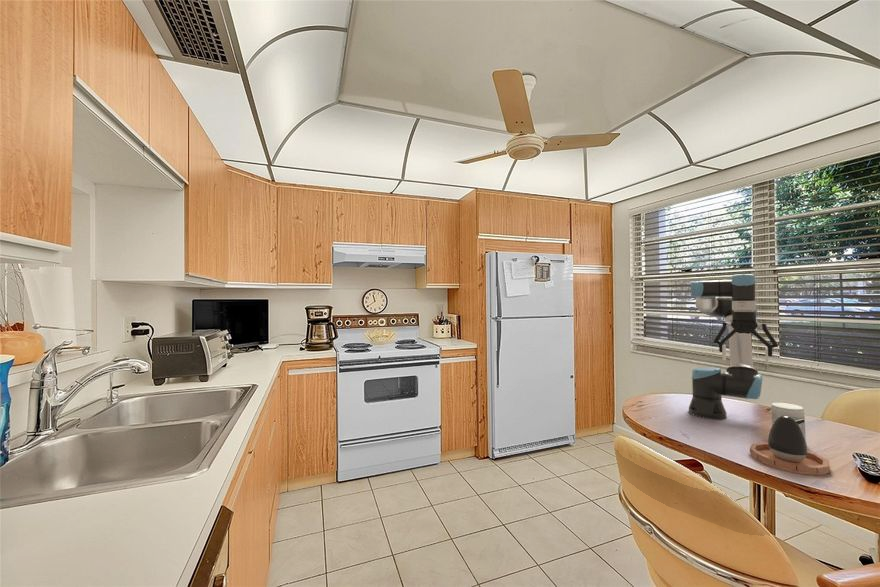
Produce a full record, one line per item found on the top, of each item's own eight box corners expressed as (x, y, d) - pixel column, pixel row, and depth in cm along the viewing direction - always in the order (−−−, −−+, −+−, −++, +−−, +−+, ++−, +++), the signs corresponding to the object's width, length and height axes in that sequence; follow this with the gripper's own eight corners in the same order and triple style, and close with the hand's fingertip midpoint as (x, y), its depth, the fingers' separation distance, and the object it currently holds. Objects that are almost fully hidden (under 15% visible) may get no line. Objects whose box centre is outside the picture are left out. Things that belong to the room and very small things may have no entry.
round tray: (754, 444, 140) (754, 438, 140) (829, 461, 125) (829, 454, 125) (746, 460, 126) (746, 453, 126) (829, 481, 112) (829, 473, 112)
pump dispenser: (817, 466, 120) (816, 422, 120) (781, 464, 122) (780, 420, 122) (793, 453, 130) (792, 412, 130) (761, 451, 132) (760, 411, 132)
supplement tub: (810, 444, 139) (809, 407, 140) (799, 449, 135) (798, 410, 136) (779, 436, 148) (778, 401, 148) (767, 440, 144) (766, 404, 144)
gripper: (704, 310, 154) (706, 359, 153) (784, 312, 135) (786, 367, 135) (708, 310, 159) (709, 357, 158) (786, 311, 140) (787, 364, 140)
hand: (745, 362), depth 146 cm, fingers open, 13 cm apart
